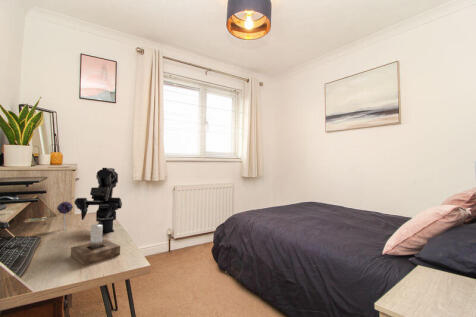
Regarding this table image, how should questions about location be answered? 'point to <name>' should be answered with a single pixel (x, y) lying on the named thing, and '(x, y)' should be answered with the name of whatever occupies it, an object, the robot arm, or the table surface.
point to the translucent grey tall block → (96, 236)
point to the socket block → (94, 252)
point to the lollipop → (64, 209)
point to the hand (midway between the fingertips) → (93, 219)
